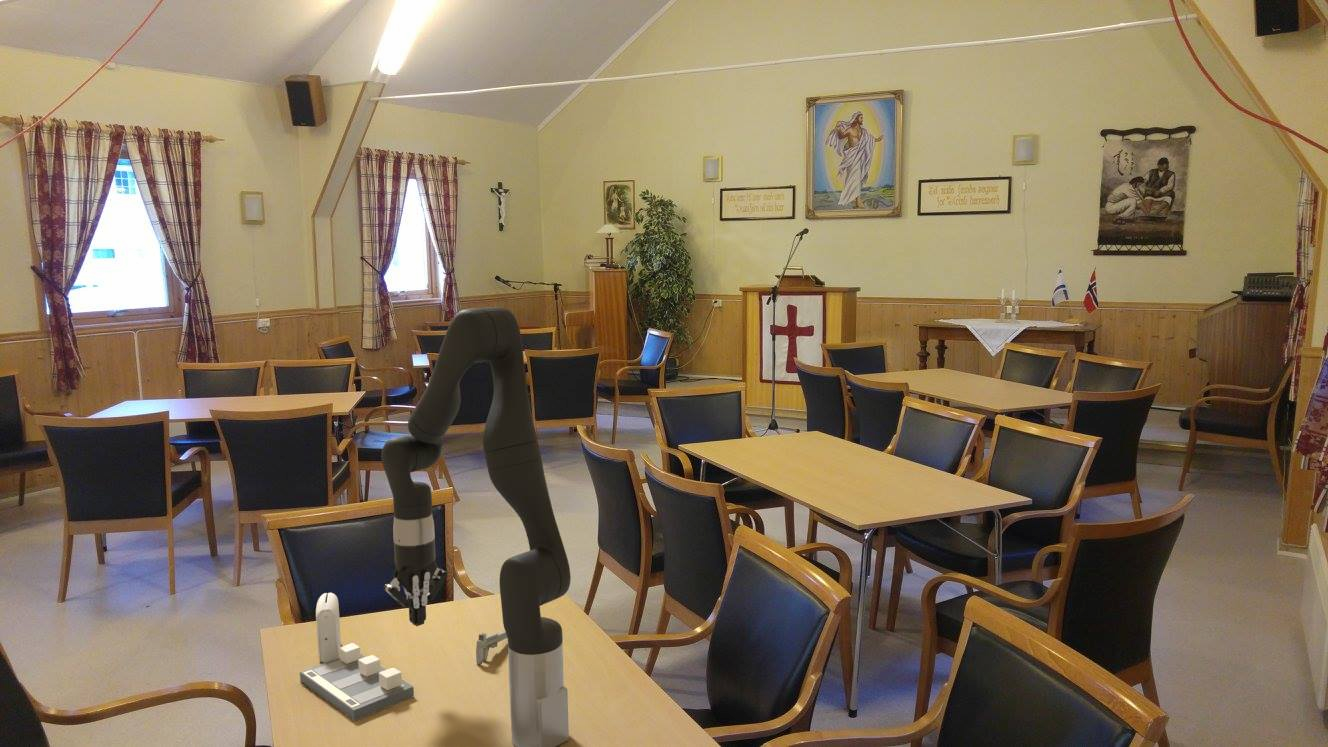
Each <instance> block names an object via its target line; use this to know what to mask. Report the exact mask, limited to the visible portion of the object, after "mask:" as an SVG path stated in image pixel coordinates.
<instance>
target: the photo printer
mask: <svg viewBox="0 0 1328 747" xmlns="http://www.w3.org/2000/svg"><path fill="white" fill-rule="evenodd" d="M339 605H340V604H339V599H338V596H337V595H336V594H335V593H333V592H328V593H327V592H324V593H323V594H321V595H320V596H319V598H318V599H317V602H316V608H315V623H316V631H317V632H316V636H317V648H318V649H317V652H318V654H317V655H318V659H319V660H318V661H319V662H322V664H323V663H326V662H329V661H332V660H335V659H338V658H339V647H342V645H341V642H342V639H341V638H342V636H341V620H340V619H341V618H340V609H339V607H340V606H339Z"/></svg>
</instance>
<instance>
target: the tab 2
mask: <svg viewBox="0 0 1328 747" xmlns="http://www.w3.org/2000/svg"><path fill="white" fill-rule="evenodd" d="M402 680H403V677H402V671H400V670H399V669H397V668H395V667H390V668H388V669H386V670H385V671H382V672H379V685H380V686H381V687H383V688H385V689H386V690H390V689H392V688H395V687H398V686H400V685H402Z"/></svg>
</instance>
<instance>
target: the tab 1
mask: <svg viewBox="0 0 1328 747" xmlns="http://www.w3.org/2000/svg"><path fill="white" fill-rule="evenodd" d="M360 654H361V646H359V645H357V644H355V643H354V642H351V643H348V644H346V645H343V646H342V645H341V646H340V647H339V658H340V660H341V661H343V662H344V663H346V664H348V663H351V662H354V661H356V660H359V659H361V655H360Z"/></svg>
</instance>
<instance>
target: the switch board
mask: <svg viewBox="0 0 1328 747" xmlns="http://www.w3.org/2000/svg"><path fill="white" fill-rule="evenodd" d="M360 655H361V659H362V658H364V657H366V656H365V655H363V654H362V653H360ZM380 667H381V672H382V671H385V670H387V669H386V668H384V667H383V666H381V665H380ZM299 677H300V678H299V679H300V682H301V683H302V684H303V683H304V686H306V687H308V688H309V689H310V690H312V691H313V692H315V694H317V695H318V696H320V697H321V698H322V699H324V700H326V701H327V702H328V703H330V704H331V705H333V707H335V708H336V709H338V710H339V711H341V712H342V713H343V714H345V715H346V716H347V717H349V718H350V719H351V720H353V721H357V720H359V719H363V718H365V717H367V716H370V715H372V714H374V713H377V712H379V711H381V710H385V709H386V708H389V707H391V706H394V705H396V704H399V703H402V702H404V701H407V700H409V699H411V698H414V697H415V692H414V686H413V685H412V684H410V683H409V682H407V681H405V680H404V679H402V685H400V686H398V687H395V688H392V689H390V690H386V689H385V688H383V687H381V686H380V685H379V672H378V673H375V674H373V675H370V676H367V677H366V676H364V675H363V674H361V673H360V672H359V666H358V660H356V661H354V662H351V663H348V664H346V663H344V662H343V661H341V660H340V658H338V659H335V660H332V661H329V662H326V663H323V662H322V663H320V664H317V665H316V666H312V667H310V668H306V669H304V670H301V671H299Z"/></svg>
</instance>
